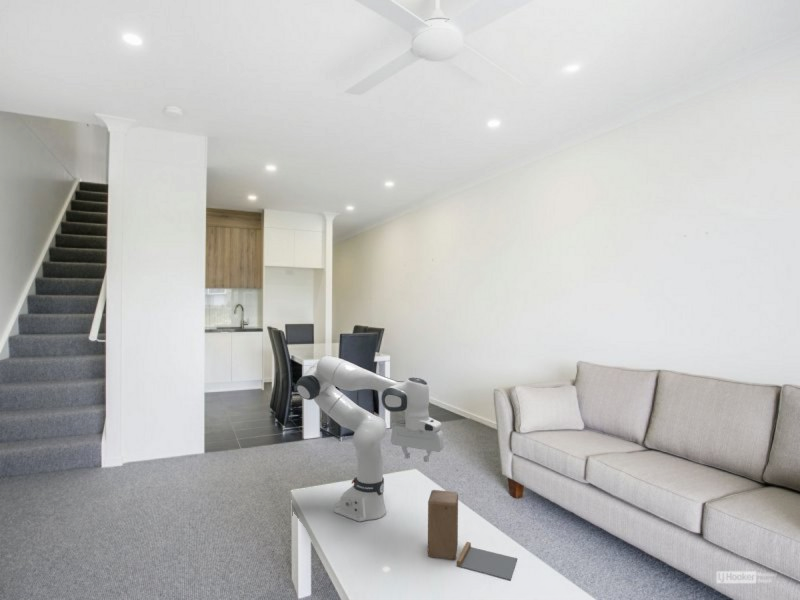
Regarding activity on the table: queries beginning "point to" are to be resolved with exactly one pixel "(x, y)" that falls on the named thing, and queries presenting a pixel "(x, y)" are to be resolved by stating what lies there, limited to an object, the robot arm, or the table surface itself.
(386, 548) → the table surface
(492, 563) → the mat
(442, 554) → the wooden block
